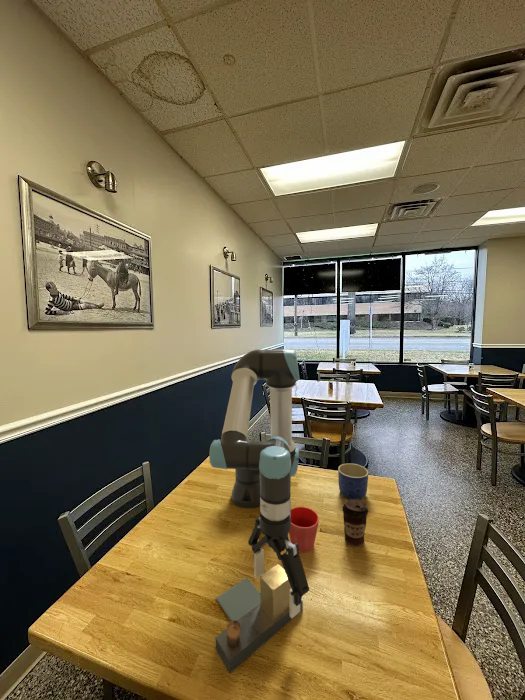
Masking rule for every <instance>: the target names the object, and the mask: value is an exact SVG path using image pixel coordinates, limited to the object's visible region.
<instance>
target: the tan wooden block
mask: <svg viewBox="0 0 525 700" xmlns="http://www.w3.org/2000/svg"><path fill="white" fill-rule="evenodd" d="M259 585H260V586H259V592H260V606H261V607H262V608H263V610H264V611H265V612H266V613H267V614H268V616H269V617H270V618H271V619H272V621H274V620H276V619H277V618H278V617H279V616H280V615H282V614H283V613H284V612H285V611H286V610H288V609H289V608H290V589H291V586H290V583H289V580H288V578H287V575H286V573H285V570H284V567H283V566H281V565H280V564H279V563H277V564H276V565H274V566H273V567H272V568H269V570H267V571H266V572H265V571H264V573H263V574H262V575H260V576H259Z"/></svg>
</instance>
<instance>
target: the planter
mask: <svg viewBox="0 0 525 700" xmlns="http://www.w3.org/2000/svg"><path fill="white" fill-rule="evenodd" d="M337 469H338V470H337V472H338V473H337V475H338V476H337V477H338V479H337V480H338V488H339V489H338V490H339V492H340V494H341V495H342V496H343V497H345V498H346V499H348V500H351V499H356V500H362V499H365V497H366V495H367V492H368V484H369V483H368V481H369V471H368V469H367V468H366V467H365V466H363V465H360V464H357V463H343V464H340V465H339V466H338V468H337Z"/></svg>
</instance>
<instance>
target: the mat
mask: <svg viewBox="0 0 525 700" xmlns="http://www.w3.org/2000/svg"><path fill="white" fill-rule="evenodd" d="M215 599H216V601H217V603H218V604H219V606H220V608H221V609H222V610H223V612H224V613H225V616H227V618H228V620H229V622H230V621H233V620H235V621H237V620H239V619H240V618H241V617H243V616H244V615H245V614H247V613H248V612H249V611H251V610H252V609H253V608H255V607H256V606H257V605H259V604H260V590H258V589H257V587H256V586H255V585H254V584H253V583H252V581H251V580H250V579H249V578H248V577H245V578H243V580H241V581H239V582H238V583H236V584H234V585H233V586H231V587H230V588H229V589H227V590H225V591H224V592H223V593H221V594H219V595H217V596H216V597H215Z"/></svg>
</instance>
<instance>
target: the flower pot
mask: <svg viewBox="0 0 525 700" xmlns="http://www.w3.org/2000/svg"><path fill="white" fill-rule="evenodd" d="M290 514H291V528H290V531H289V534H288V537H289V542H290V543H292V544H295V543H297V544H298V546H299V552H300V553H307V552H310V551H311V550H313V549H314V546H315V543H316V542H315V541H316V537H317V533H318V526H319V523H320V522H319V521H320V518H319V515H318V513H317V512H316V511H315V510H313V509H312V508H309V507H306V506H296V507H291V513H290Z"/></svg>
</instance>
